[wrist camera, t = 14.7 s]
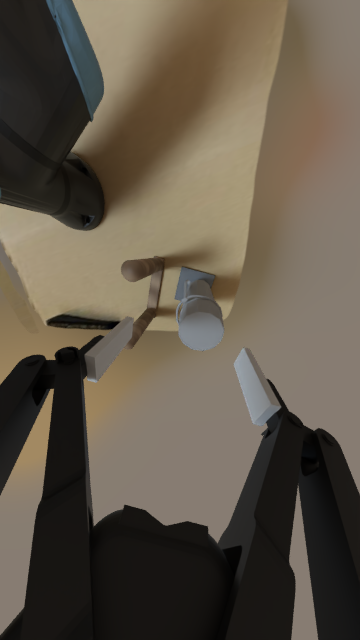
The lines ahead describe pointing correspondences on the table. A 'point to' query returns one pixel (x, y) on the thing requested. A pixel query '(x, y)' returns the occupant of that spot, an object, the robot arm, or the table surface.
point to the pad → (191, 280)
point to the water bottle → (199, 317)
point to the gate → (140, 270)
